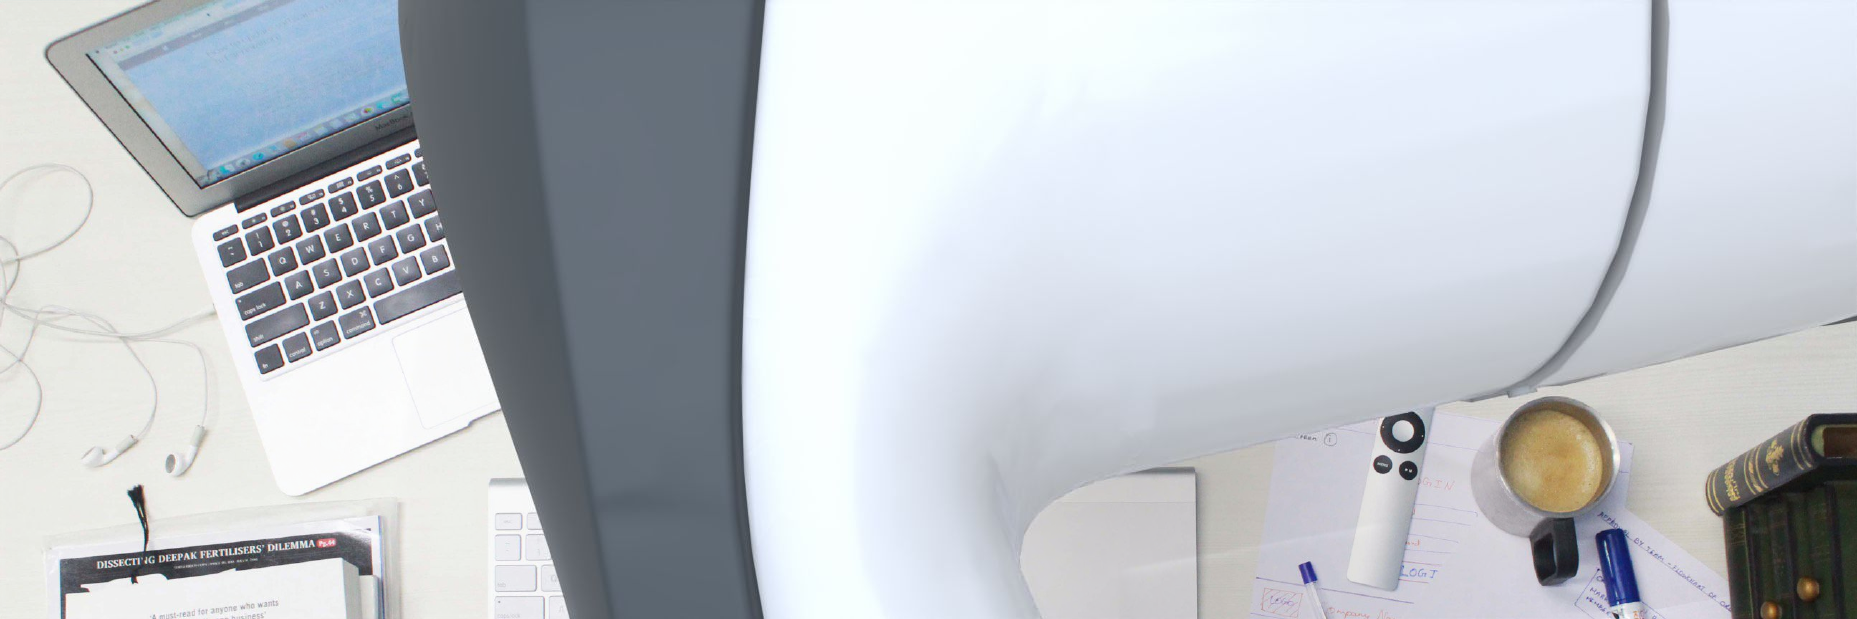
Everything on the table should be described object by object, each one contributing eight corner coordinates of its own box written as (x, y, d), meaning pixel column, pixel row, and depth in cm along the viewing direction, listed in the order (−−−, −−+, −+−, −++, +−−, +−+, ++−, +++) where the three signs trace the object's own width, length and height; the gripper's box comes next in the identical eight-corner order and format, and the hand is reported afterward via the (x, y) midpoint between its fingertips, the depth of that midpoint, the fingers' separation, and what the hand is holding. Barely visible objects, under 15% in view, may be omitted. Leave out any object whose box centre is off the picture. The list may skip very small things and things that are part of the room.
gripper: (1321, -558, 25) (1187, -178, 39) (770, 79, 22) (835, 248, 35) (1551, -422, 24) (1331, -83, 38) (1012, 260, 21) (984, 362, 35)
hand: (1088, 81), depth 37 cm, fingers closed
